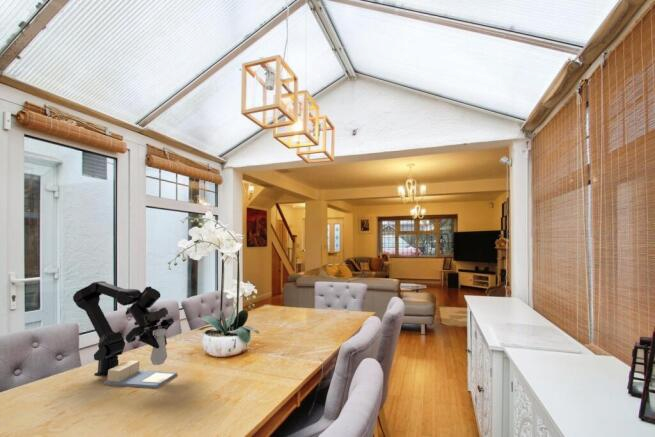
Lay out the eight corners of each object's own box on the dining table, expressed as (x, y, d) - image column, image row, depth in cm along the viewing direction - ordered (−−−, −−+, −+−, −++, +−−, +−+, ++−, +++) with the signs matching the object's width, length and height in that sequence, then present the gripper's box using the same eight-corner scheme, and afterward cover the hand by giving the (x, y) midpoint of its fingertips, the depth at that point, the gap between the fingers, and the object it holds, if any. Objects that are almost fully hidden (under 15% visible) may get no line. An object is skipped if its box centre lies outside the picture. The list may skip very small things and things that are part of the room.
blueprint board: (104, 384, 117) (105, 370, 117) (128, 371, 129) (129, 359, 129) (156, 388, 114) (157, 374, 114) (176, 375, 126) (177, 362, 126)
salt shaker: (163, 365, 119) (165, 331, 120) (147, 366, 118) (149, 331, 119) (168, 360, 124) (170, 327, 125) (153, 360, 123) (155, 327, 124)
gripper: (133, 306, 115) (155, 340, 111) (172, 298, 133) (191, 327, 129) (116, 326, 117) (136, 359, 113) (156, 315, 135) (175, 344, 130)
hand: (162, 346), depth 121 cm, fingers closed on salt shaker, 3 cm apart
